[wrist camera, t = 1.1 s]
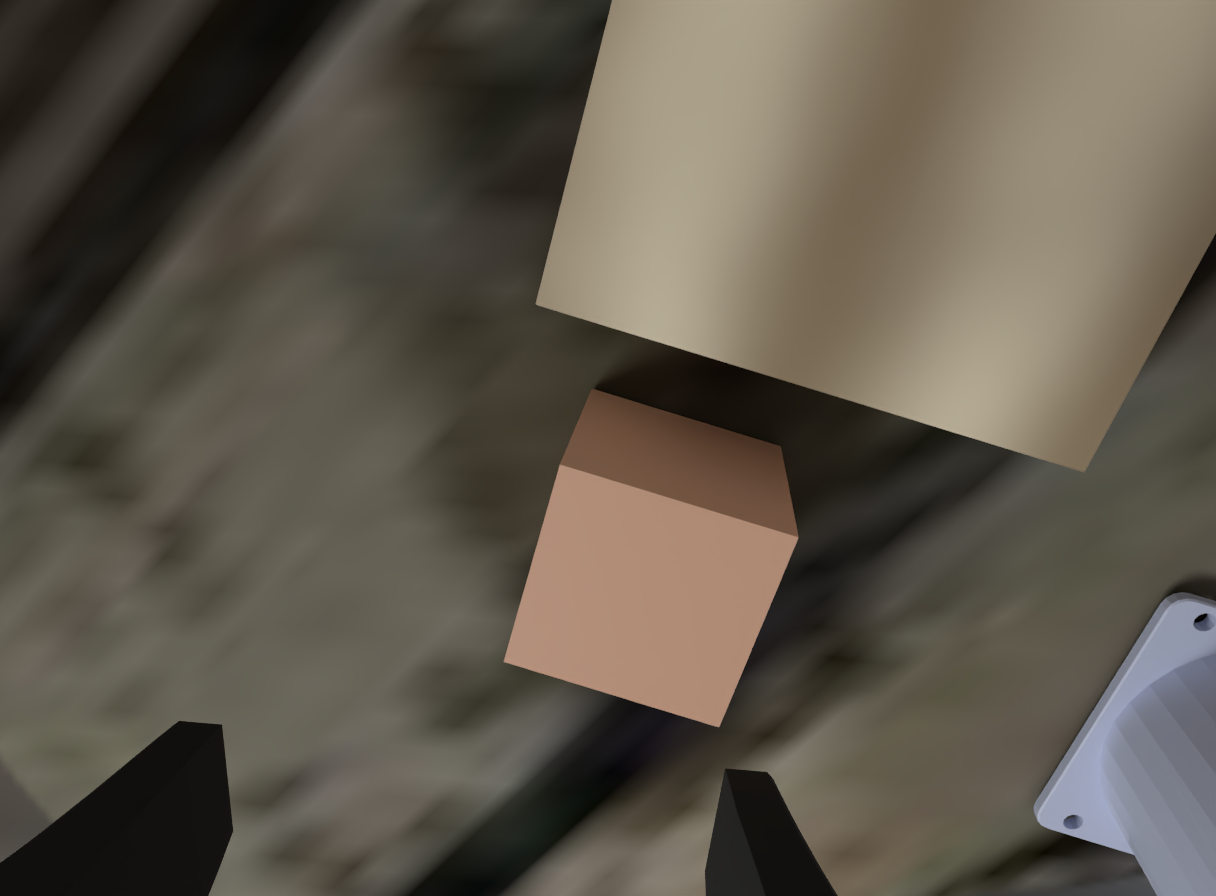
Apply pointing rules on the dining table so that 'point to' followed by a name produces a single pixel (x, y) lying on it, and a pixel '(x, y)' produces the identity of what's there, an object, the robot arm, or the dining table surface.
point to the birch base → (900, 199)
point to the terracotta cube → (656, 559)
